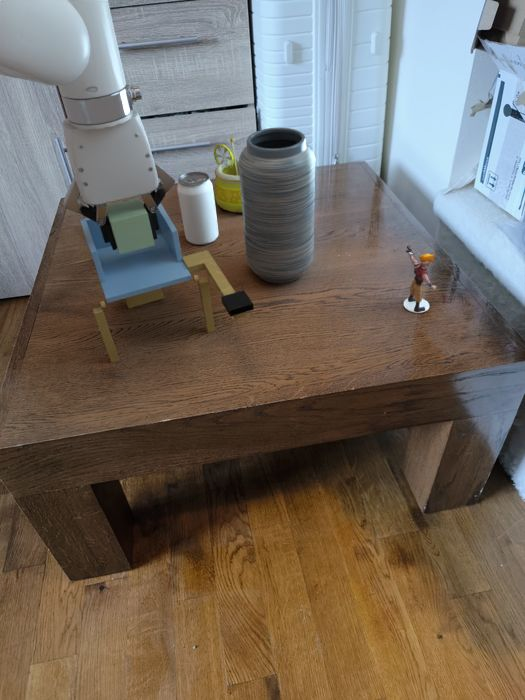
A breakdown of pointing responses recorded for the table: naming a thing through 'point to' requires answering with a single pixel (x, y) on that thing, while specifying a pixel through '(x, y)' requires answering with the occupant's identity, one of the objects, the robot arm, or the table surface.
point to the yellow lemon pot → (228, 181)
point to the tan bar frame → (148, 298)
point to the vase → (278, 203)
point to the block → (130, 225)
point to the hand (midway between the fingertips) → (132, 239)
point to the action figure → (418, 282)
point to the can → (198, 208)
